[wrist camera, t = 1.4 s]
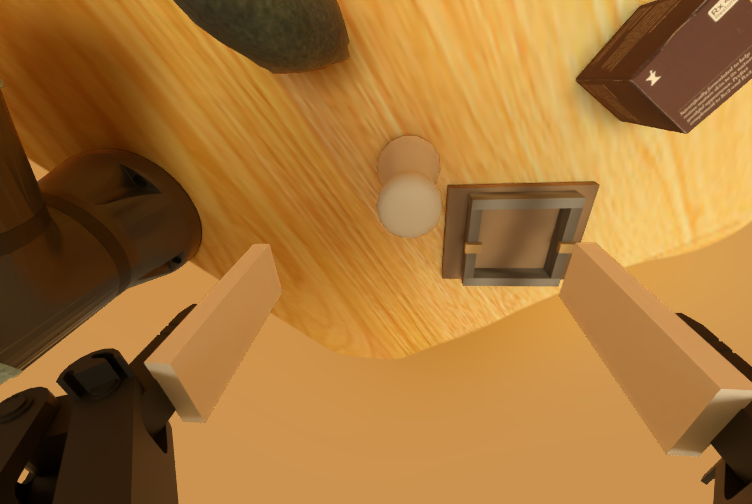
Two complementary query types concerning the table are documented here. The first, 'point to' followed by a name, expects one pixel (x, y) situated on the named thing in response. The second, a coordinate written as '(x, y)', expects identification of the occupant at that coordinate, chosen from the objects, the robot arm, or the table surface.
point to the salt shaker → (409, 187)
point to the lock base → (514, 232)
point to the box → (674, 62)
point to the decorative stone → (276, 31)
